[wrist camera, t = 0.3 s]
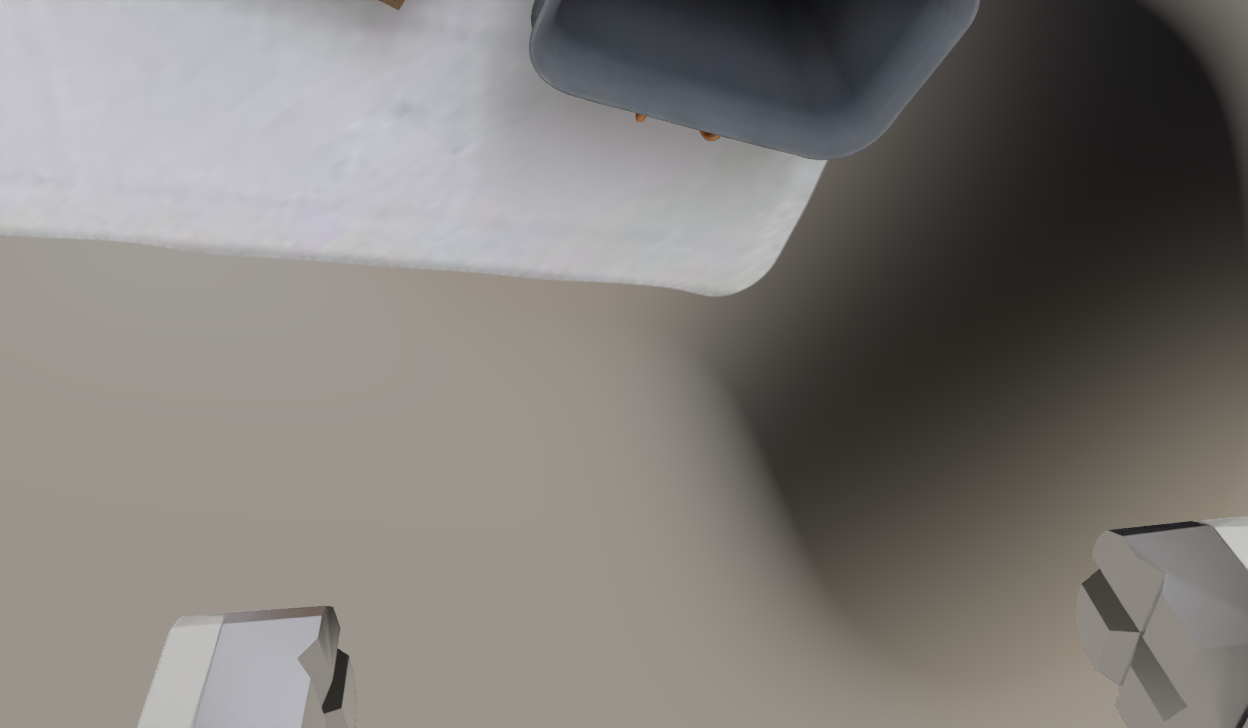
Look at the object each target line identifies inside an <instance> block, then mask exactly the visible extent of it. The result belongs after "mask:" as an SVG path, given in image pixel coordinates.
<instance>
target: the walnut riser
mask: <svg viewBox="0 0 1248 728" xmlns="http://www.w3.org/2000/svg"><path fill="white" fill-rule="evenodd" d="M379 1H381V2H383V3H385V4H387V5H389V6H391V7H393V8H395V9H397V10H399V9H400V7H401V5H402V4H403V2H404V1H405V0H379Z"/></svg>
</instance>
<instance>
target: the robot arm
mask: <svg viewBox="0 0 1248 728" xmlns="http://www.w3.org/2000/svg"><path fill="white" fill-rule="evenodd" d="M1092 557H1093V558H1094V560H1095V562H1096V563H1097V565H1098V567H1099V568H1100V569H1098V570H1097V571H1096V572H1095V573H1094V574H1092V575H1091V576H1090V577H1089V578H1088V579H1087V580H1086V581H1084V582H1083V583H1082V584H1081V588H1080V591H1079V595H1078V598H1077V602H1076V617H1077V630H1078V633H1079V636H1080V638H1081V642H1082V645H1083V648H1084V650H1085V652H1086V654H1087V656H1088V657H1089V659H1090V661H1091V663H1092V665H1093V667H1094V668H1095V670H1097V671H1098V672H1100V673H1101V674H1103V675H1104V676H1106V677H1107V678H1109V679H1110V680H1112V681H1113V682H1115V683H1116V684H1117V685H1119V688H1118V693H1117V699H1116V703H1115V706H1116V708H1117V709H1118V711H1119V713H1120V715H1121V716H1122V718H1123V720H1124V721H1125V723H1126V725H1127V727H1128V728H1248V517H1247V516H1243V517H1232V518H1222V519H1212V520H1201V521H1197V522H1194V521H1186V522H1177V523H1167V524H1159V525H1150V526H1140V527H1131V528H1121V529H1112V530H1106V531H1105V532H1104V533H1103V534H1102V535H1101V536H1100V537H1099V538H1098V539H1097V541H1096V544H1095V547H1094V550H1093V552H1092ZM339 635H340V625H339V622H338V619H337V616H336V613H335V611H334V608H333V607H331V606H317V607H302V608H288V609H274V610H260V611H246V612H231V613H225V614H212V615H199V616H187V617H180V618H179V619H178V620H177V622H176V623H175V624H174V626H173V627H172V628H171V630H170V631H169V633H168V636H167V639H166V642H165V645H164V648H163V651H162V654H161V657H160V660H159V663H158V666H157V669H156V672H155V675H154V678H153V681H152V684H151V687H150V690H149V693H148V696H147V699H146V702H145V705H144V708H143V711H142V714H141V717H140V720H139V723H138V726H137V728H356V685H355V678H354V671H353V668H352V664H351V661H350V658H349V655H347V654H346V653H344V652H342V651H341V650H340V649H338V641H339Z"/></svg>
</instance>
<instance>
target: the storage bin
mask: <svg viewBox="0 0 1248 728" xmlns="http://www.w3.org/2000/svg"><path fill="white" fill-rule="evenodd" d="M979 3H980V0H535V2H534V5H533V9H532V15H531V23H532V32H531V36H530V43H529V52H530V58H531V61H532V64H533V66H534V68H535V70H536V72H537V73H538V74H539V76H540V77H541V78H542V79H543V80H544V81H545V82H546V83H548V84H549V85H551V86H552V87H554V88H555V89H557V90H559V91H561V92H563V93H566V94H568V95H572V96H575V97H579V98H583V99H586V100H589V101H592V102H595V103H599V104H603V105H607V106H611V107H615V108H619V109H623V110H627V111H631V112H634V113H636V120H637V121H638V122H642V121H643V120H644V119H645V117H646V116H649V117H652V118H656V119H660V120H663V121H667V122H671V123H674V124H678V125H682V126H685V127H689V128H693V129H697V130H699V131H700V133H701V134H702V136H703V137H704V138H705V139H706V140H708V141H714V140H717V139H718V138H719V137H720V136H723V137H727V138H731V139H735V140H739V141H742V142H746V143H750V144H754V145H758V146H762V147H766V148H770V149H774V150H778V151H782V152H786V153H790V154H794V155H798V156H801V157H804V158H808V159H815V160H833V159H839V158H843V157H846V156H849V155H852V154H854V153H856V152H858V151H860V150H862V149H864V148H866V147H867V146H869V145H870V144H872V143H873V142H874V141H876V140H877V139H878V138H879V137H881V136H882V134H884V132H886V131H887V129H888V128H889V127H890V126H891V124H892V123H893V122H894V120H895V119H896V118H897V117H898V115H899V114H900V113H901V111H902V110H903V109H904V108H905V107H906V105H907V104H908V103H909V101H910V100H911V99H912V98H913V97H914V95H915V94H916V93H917V92H918V91H919V89H920V88H921V87H922V86H923V84H924V83H925V82H926V81H927V80H928V78H929V77H930V76H931V75H932V73H933V72H934V71H935V70H936V68H937V67H938V66H939V65H940V63H941V62H942V61H943V60H944V58H945V57H946V56H947V55H948V53H949V52H950V51H951V50H952V48H953V47H954V46H955V44H956V43H957V42H958V41H959V40H960V38H961V37H962V35H963V34H964V33H965V32H966V30H967V29H968V28H969V27H970V25H971V23H972V22H973V20H974V18H975V15H976V13H977V11H978V8H979Z"/></svg>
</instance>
